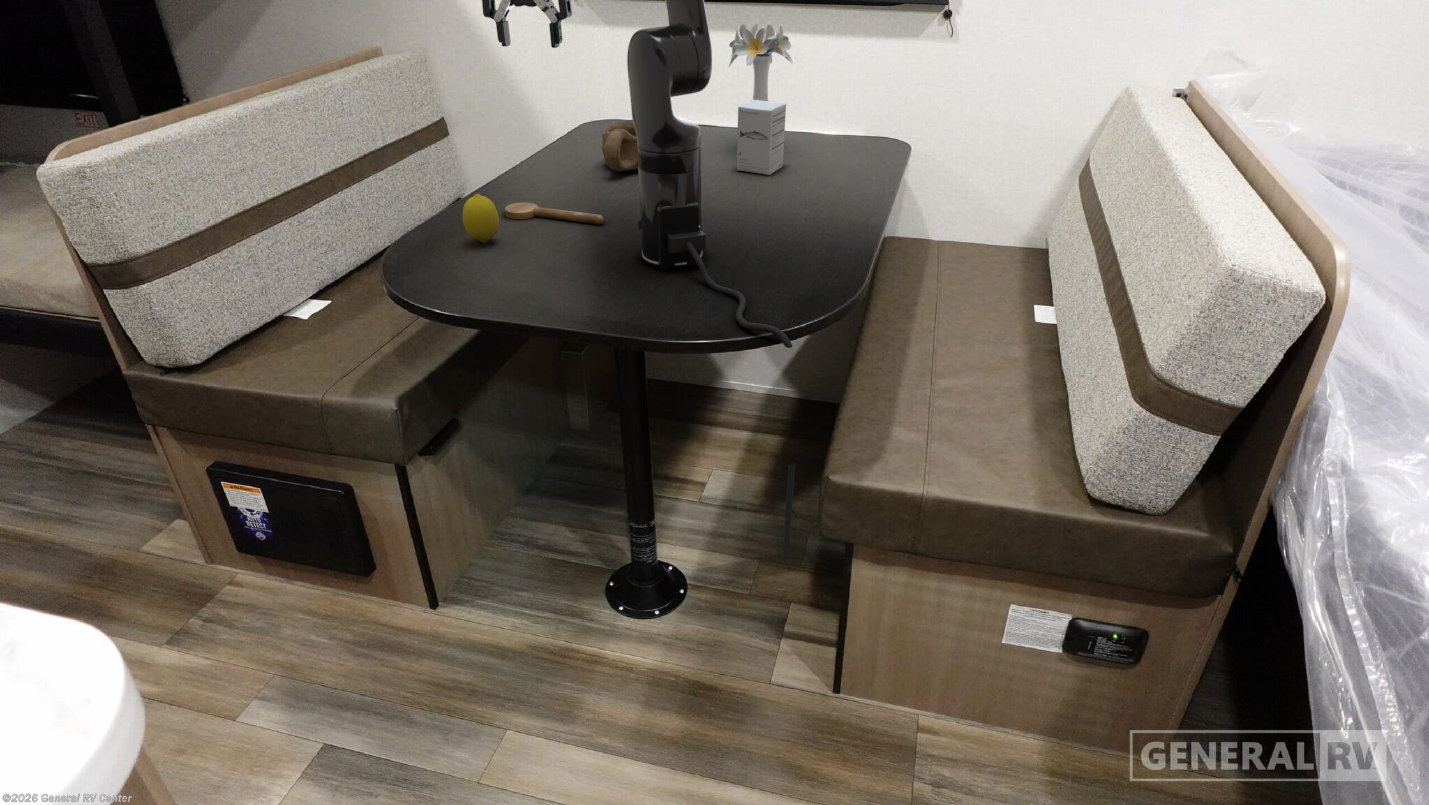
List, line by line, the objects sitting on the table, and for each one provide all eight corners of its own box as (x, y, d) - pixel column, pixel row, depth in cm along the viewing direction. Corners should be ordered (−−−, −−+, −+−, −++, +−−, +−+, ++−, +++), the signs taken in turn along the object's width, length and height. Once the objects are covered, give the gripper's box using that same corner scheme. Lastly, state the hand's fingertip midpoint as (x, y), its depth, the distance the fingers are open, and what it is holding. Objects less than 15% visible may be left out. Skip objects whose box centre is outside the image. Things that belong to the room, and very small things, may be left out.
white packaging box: (735, 171, 176) (736, 105, 169) (751, 161, 181) (752, 98, 175) (769, 176, 173) (771, 109, 166) (784, 166, 178) (787, 102, 172)
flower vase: (778, 135, 199) (782, 16, 186) (795, 158, 183) (800, 29, 171) (721, 137, 198) (721, 17, 185) (733, 160, 182) (734, 30, 169)
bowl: (666, 175, 168) (650, 123, 164) (599, 192, 172) (581, 142, 167) (681, 149, 183) (667, 101, 179) (619, 165, 187) (603, 119, 182)
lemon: (497, 248, 140) (490, 199, 136) (462, 248, 140) (454, 199, 136) (505, 236, 144) (498, 188, 140) (471, 236, 145) (464, 188, 140)
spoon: (610, 219, 151) (610, 210, 151) (595, 230, 147) (595, 220, 146) (516, 207, 157) (515, 198, 156) (499, 217, 153) (498, 208, 152)
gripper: (465, -64, 134) (481, 49, 143) (555, -64, 132) (565, 51, 141) (485, -67, 141) (498, 41, 149) (570, -67, 139) (579, 43, 147)
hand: (531, 46), depth 145 cm, fingers open, 8 cm apart
